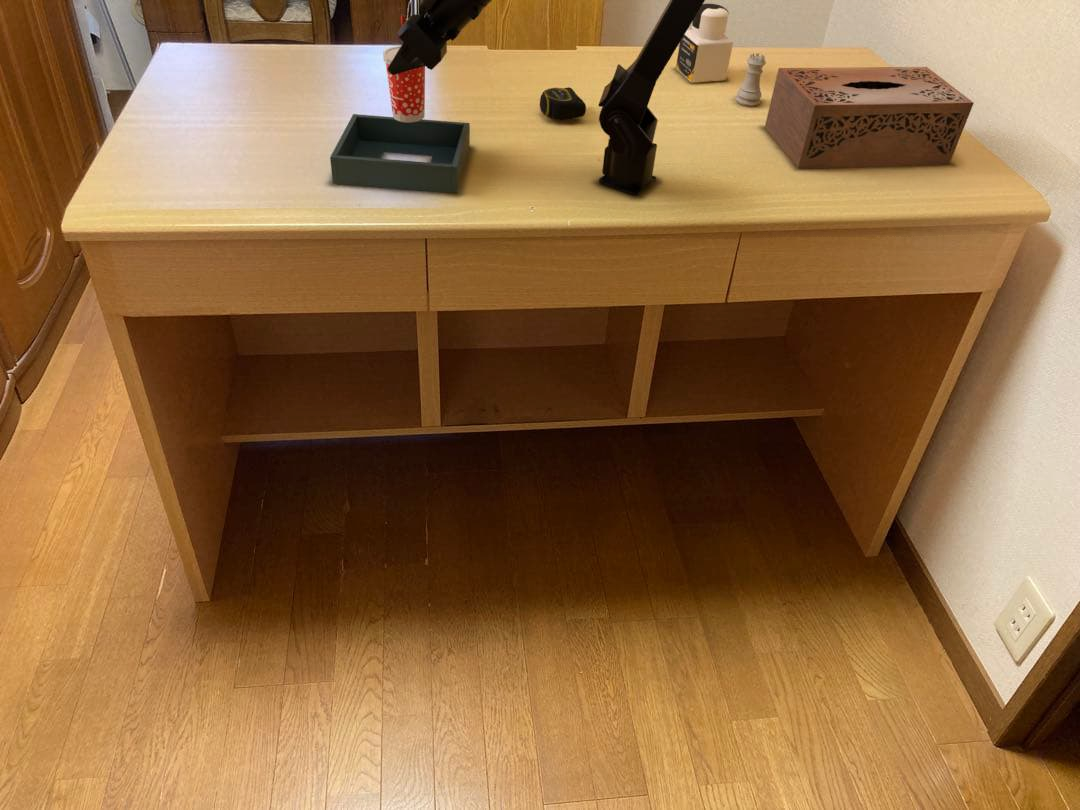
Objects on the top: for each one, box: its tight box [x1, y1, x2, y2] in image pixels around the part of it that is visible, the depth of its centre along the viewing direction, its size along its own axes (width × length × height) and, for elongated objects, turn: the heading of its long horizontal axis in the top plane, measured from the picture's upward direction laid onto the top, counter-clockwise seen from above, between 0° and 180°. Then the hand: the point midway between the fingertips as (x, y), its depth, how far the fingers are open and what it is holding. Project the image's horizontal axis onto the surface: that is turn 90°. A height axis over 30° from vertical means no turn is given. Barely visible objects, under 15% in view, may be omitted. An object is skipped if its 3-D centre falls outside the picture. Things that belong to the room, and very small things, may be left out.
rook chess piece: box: [735, 53, 767, 107], centre depth 149 cm, size 4×4×8 cm
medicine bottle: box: [675, 3, 734, 84], centre depth 156 cm, size 7×7×12 cm
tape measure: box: [539, 86, 587, 121], centre depth 142 cm, size 7×7×4 cm
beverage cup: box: [382, 14, 426, 122], centre depth 121 cm, size 6×6×14 cm
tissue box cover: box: [764, 66, 975, 170], centre depth 137 cm, size 26×14×10 cm, turn 100°
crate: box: [329, 113, 471, 194], centre depth 126 cm, size 18×15×4 cm
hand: (396, 63), depth 121 cm, fingers closed on beverage cup, 6 cm apart
